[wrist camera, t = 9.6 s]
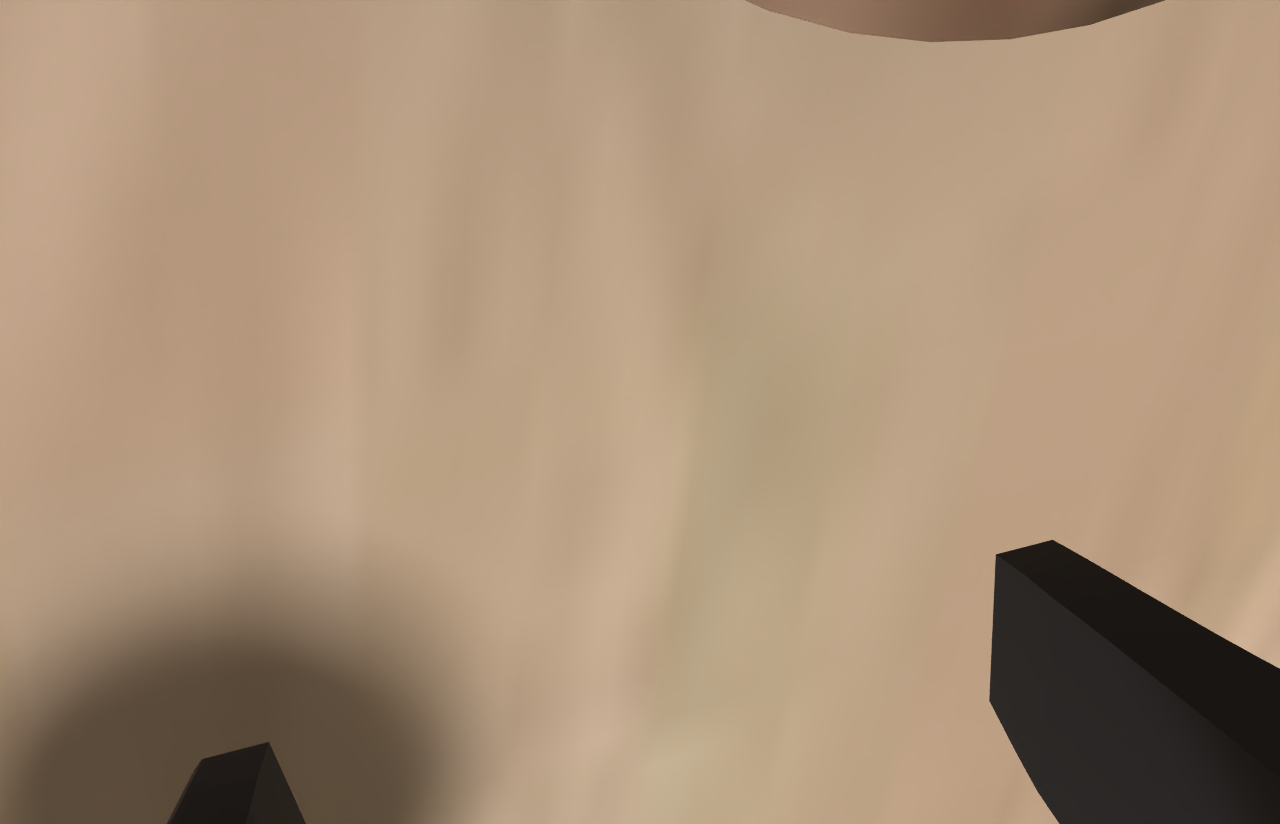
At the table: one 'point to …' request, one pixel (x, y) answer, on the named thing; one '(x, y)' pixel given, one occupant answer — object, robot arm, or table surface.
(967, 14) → the lid
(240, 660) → the table surface
